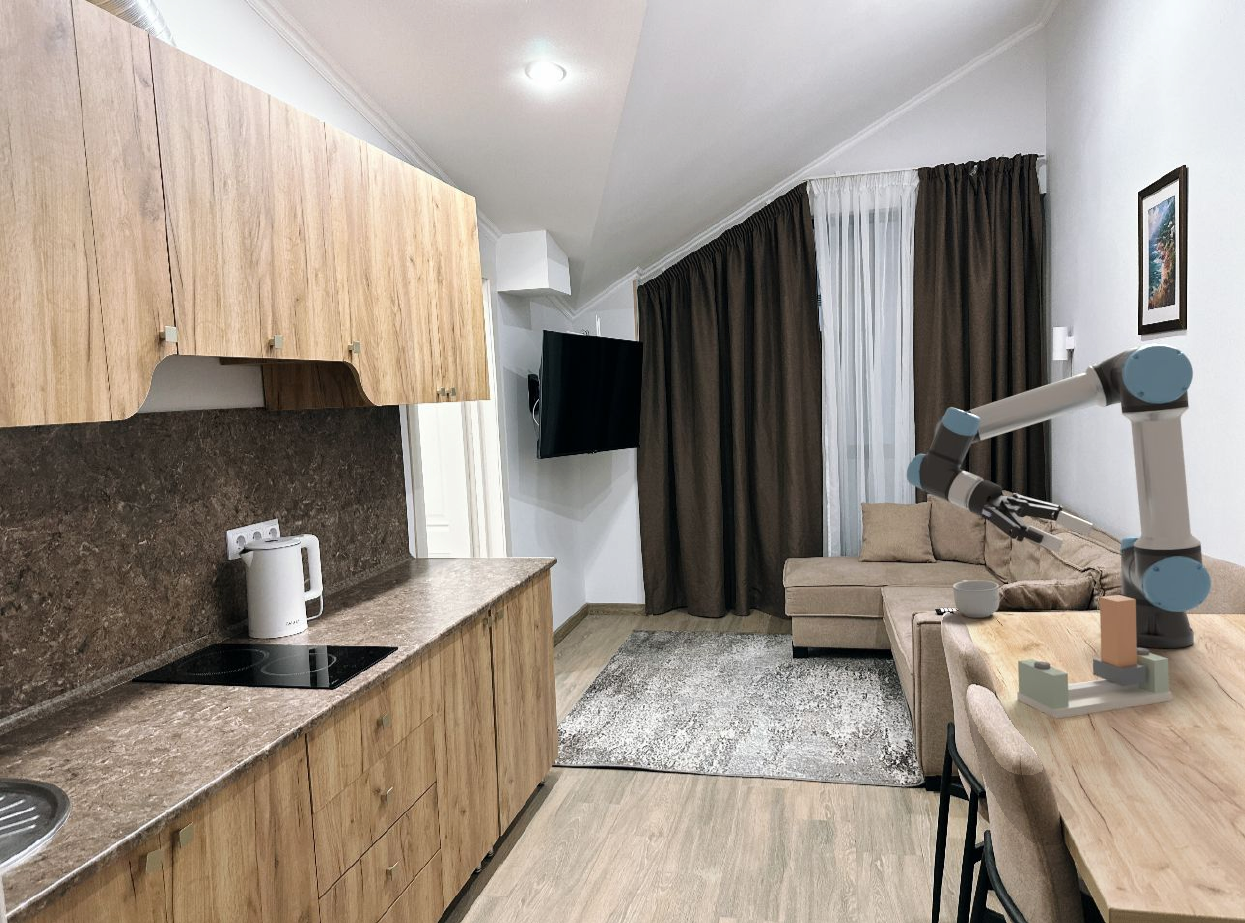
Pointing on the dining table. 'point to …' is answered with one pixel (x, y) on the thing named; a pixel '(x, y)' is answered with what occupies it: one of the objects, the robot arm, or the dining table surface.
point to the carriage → (1118, 642)
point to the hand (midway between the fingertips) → (1075, 538)
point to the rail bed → (1099, 698)
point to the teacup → (976, 598)
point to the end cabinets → (1053, 683)
